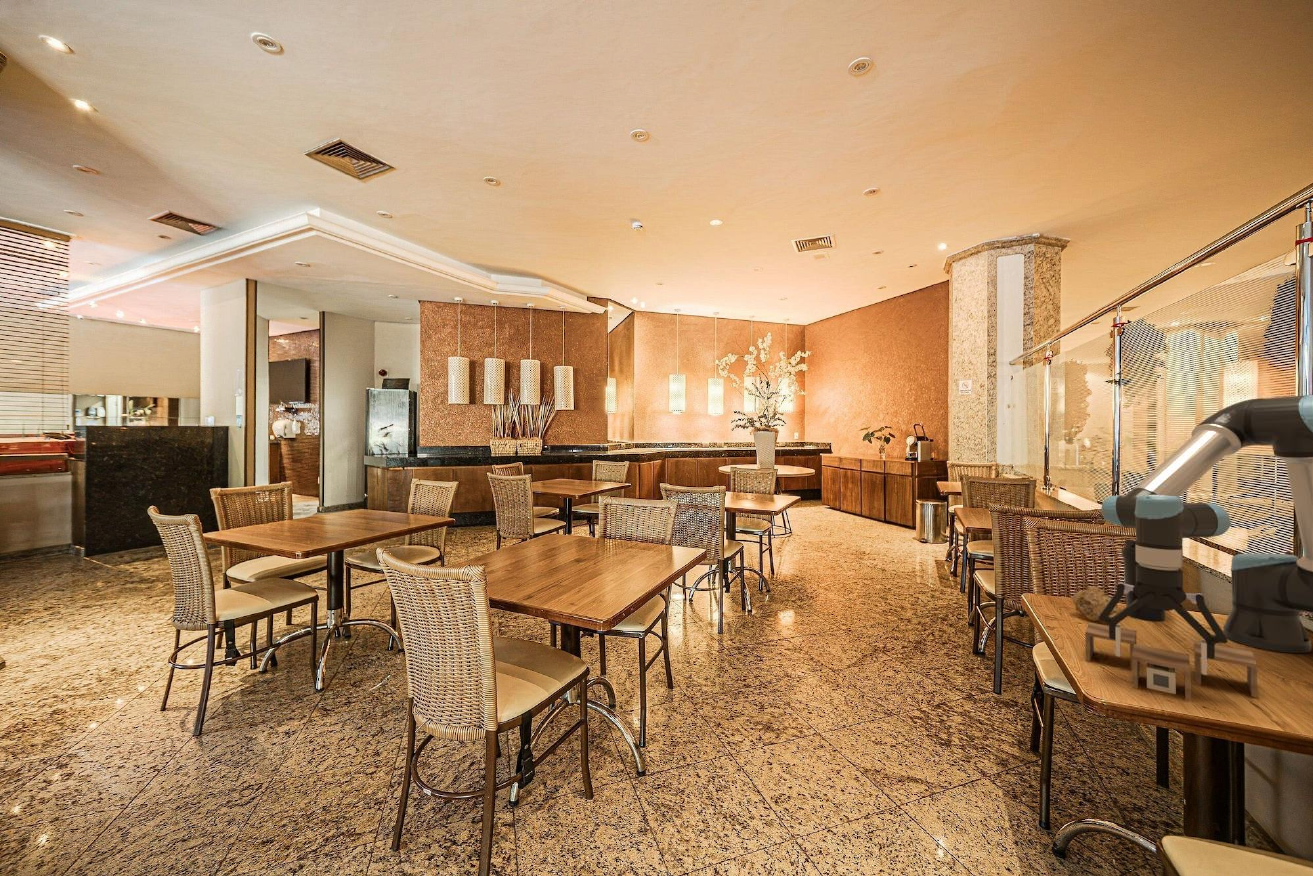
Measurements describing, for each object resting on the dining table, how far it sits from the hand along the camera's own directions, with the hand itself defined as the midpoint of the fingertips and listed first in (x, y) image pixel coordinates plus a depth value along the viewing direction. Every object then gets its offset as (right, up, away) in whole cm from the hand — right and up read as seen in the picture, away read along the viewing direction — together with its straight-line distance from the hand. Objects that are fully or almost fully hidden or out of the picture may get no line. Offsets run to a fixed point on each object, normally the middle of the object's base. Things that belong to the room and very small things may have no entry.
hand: (1159, 663), depth 116 cm
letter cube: (0, -5, 0) cm, 5 cm away
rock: (+22, -5, +42) cm, 48 cm away
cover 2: (0, -5, 0) cm, 5 cm away
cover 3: (+15, -5, +1) cm, 16 cm away
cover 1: (+2, -5, +14) cm, 15 cm away
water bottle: (+37, -5, +44) cm, 58 cm away
